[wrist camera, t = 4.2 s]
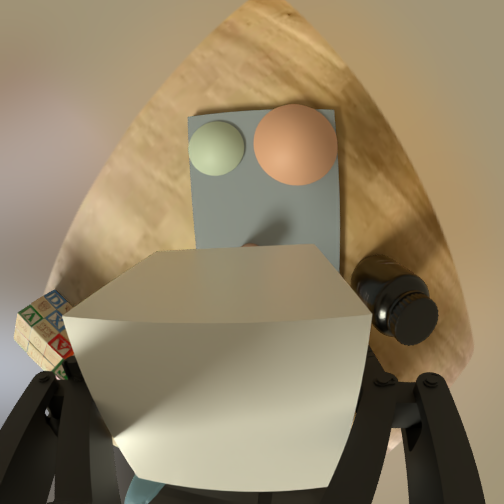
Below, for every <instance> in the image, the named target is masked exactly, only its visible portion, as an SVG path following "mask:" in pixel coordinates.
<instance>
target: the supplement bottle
mask: <svg viewBox="0 0 504 504" xmlns="http://www.w3.org/2000/svg"><path fill="white" fill-rule="evenodd" d="M351 288H352V289H353V291H354V292H355V293H356V294H357V296H358V297H359V298H360V299H361V301H362V302H363V303H364V304H365V306H366V307H367V308H368V309H369V311H370V312H371V313H372V321H371V322H372V324H373V325H374V327H375V328H376V329H377V330H378V331H379V332H380V333H382V334H384V335H386V336H390V337H395V338H396V339H397V341H399V342H400V343H401V344H404V345H408V346H409V345H415V344H418V343H420V342H422V341H423V340H425V339H426V338H427V337H429V335H430V334H431V333H432V331H433V330H434V328H435V326H436V324H437V321H438V310H437V306H436V304H435V302H433V300H432V299H430V295H429V290H428V288H427V285H426V284H425V282H424V281H423V280H422V279H421V278H420V277H419V276H417V275H416V274H414V273H413V272H411V271H410V270H408V269H407V268H405V267H404V266H402V265H401V264H399V263H398V262H396V261H395V260H393V259H392V258H390V257H388V256H385V255H379V254H378V255H372V256H369V257H367V258H365V259H364V260H362V261H361V262H360V263H359V264H358V265H357V267H356V268H355V270H354V272H353V274H352V277H351Z"/></svg>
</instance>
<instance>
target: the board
mask: <svg viewBox="0 0 504 504" xmlns="http://www.w3.org/2000/svg"><path fill="white" fill-rule="evenodd" d="M188 139H189V147H188V152H189V160H190V177H191V192H192V206H193V218H194V230H195V240H196V249H210V248H231V247H253V246H275V245H297V244H315V245H316V247H317V248H318V249H319V250H320V251H321V252H322V254H323V255H324V256H325V257H326V258H327V259H328V261H329V262H330V263H331V264H332V265H333V267H334V268H335V269H336V270H337V271H338V273H339V263H340V197H339V170H338V153H337V150H338V143H337V137H336V126H335V115H334V110H326V109H313V108H310V107H308V106H305V105H299V104H288V105H283V106H280V107H277V108H275V109H273V110H252V111H238V112H226V113H216V114H207V115H199V116H192V117H188Z"/></svg>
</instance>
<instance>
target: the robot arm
mask: <svg viewBox="0 0 504 504" xmlns="http://www.w3.org/2000/svg"><path fill="white" fill-rule="evenodd" d="M62 367H63V369H64V371H65V374H66V376H67V378H68V379H66V380H57V378H56V376H55V374H54V373H53V372H52V371H43V372H40V373H38V374H37V375H36V376H35V377H34V378H33V379H32V381H31V382H30V384H29V385H28V387H27V388H26V390H25V391H24V393H23V394H22V396H21V397H20V399H19V400H18V402H17V403H16V405H15V406H14V408H13V410H12V411H11V413H10V415H9V416H8V418H7V420H6V421H5V423H4V425H3V426H2V428H1V430H0V504H46V503H47V499H48V495H49V491H50V488H51V485H52V481H53V478H54V475H55V499H54V501H53V502H49V503H47V504H121V501H120V495H119V489H118V483H117V476H116V469H115V461H114V451H113V441H112V435H111V433H110V431H109V429H108V428H107V426H106V424H105V422H104V420H103V418H102V416H101V414H100V412H99V410H98V408H97V406H96V404H95V402H94V400H93V398H92V395H91V393H90V391H89V389H88V387H87V384H86V382H85V380H84V377H83V375H82V372H81V370H80V367H79V365H78V362H77V360H76V357H75V355H73V356H70V357H68V358H66V359H65V360H64V361H63V362H62ZM46 408H47V410H48V411H49V415H48V416H46V414H45V410H46ZM355 410H356V413H357V414H356V417H355V420H354V422H353V425H352V428H351V431H350V434H349V436H348V439H347V442H346V444H345V447H344V450H343V452H342V455H341V457H340V460H339V462H338V464H337V467H336V469H335V471H334V474H333V476H332V478H331V480H330V482H329V485H328V487H321V488H313V489H303V490H291V491H269V492H243V491H222V490H209V489H200V488H191V487H184V486H177V485H171V484H166V483H160V482H155V481H151V480H146V479H142V478H138V476H137V475H136V474H135V476H134V478H133V480H132V482H131V484H130V487H129V489H128V492H127V495H126V498H125V503H124V504H371V503H372V500H373V497H374V494H375V491H376V487H377V484H378V481H379V477H380V474H381V470H382V466H383V463H384V459H385V455H386V451H387V446H388V442H389V437H390V432H391V428H401V432H402V438H403V445H404V453H405V461H406V470H407V480H408V492H409V504H485V499H484V494H483V490H482V486H481V481H480V478H479V474H478V470H477V466H476V463H475V460H474V456H473V453H472V450H471V447H470V444H469V440H468V438H467V435H466V432H465V429H464V426H463V423H462V421H461V418H460V415H459V413H458V410H457V408H456V405H455V403H454V400H453V398H452V395H451V393H450V390H449V388H448V386H447V384H446V381H445V380H444V378H443V377H442V376H440V375H439V374H436V373H430V372H427V373H423V374H421V375H419V376H418V378H417V380H416V382H398V379H397V378H396V377H395V376H394V375H392V374H391V373H387V372H385V371H384V369H383V368H382V366H381V364H380V363H379V361H378V359H377V358H376V357H375V354H374V353H373V352H372V349H371V348H370V346H369V344H368V349H367V355H366V361H365V366H364V372H363V377H362V382H361V387H360V392H359V396H358V401H357V405H356V409H355Z"/></svg>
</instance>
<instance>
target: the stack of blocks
mask: <svg viewBox="0 0 504 504" xmlns="http://www.w3.org/2000/svg"><path fill="white" fill-rule="evenodd" d="M72 308H74V307H73V306H72V305H70V304H69V303H68V302H67V301H66V300H65V299H64V298H63V297H62V296H61V295H60V294H59V293H58V292H57V291H56V290H53V291H51V292H49V293H48V294H46V295H44V296H42V297H40V298H39V299H37V300H36V301H34V302H32V303H31V305H29V306H27V307H25V308H24V309H23V310H21V311H19V312H18V314H17V319H16V325H15V326H16V327H15V333H14V340H15V341H16V342H17V343H18V344H19V345H20V346H21V347H22V348H23V350H24V351H25V352H27V354H28V355H29V356H30V357H31V358H32V359H33V360H34V361H35V362H36V363H37V364H38V365H39V366H40V367H41V368H42V369H43V370H44V371H52V372H53V373H54V374H55V376H56V378H57V380H66V379H68V378H67V376H66V374H65V371H64V369H63V367H62V362H63V361H64V360H65V359H66V358H68V357H70V356H73V355H75V354H74V352H73V349H72V346H71V343H70V340H69V337H68V334H67V331H66V328H65V325H64V321H63V318H62V316H63V315H64V314H65V313H67V312H68V311H70V310H71V309H72ZM112 441H113V445H115V446H116V447H118V445H117V444H116V442H115V440H114V438H113V437H112Z"/></svg>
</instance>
